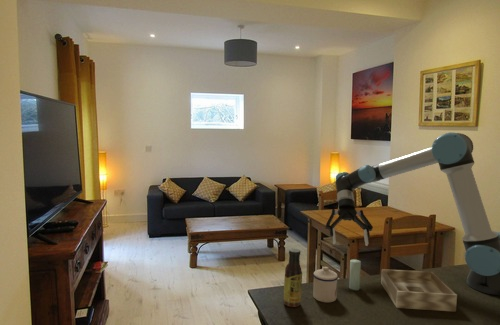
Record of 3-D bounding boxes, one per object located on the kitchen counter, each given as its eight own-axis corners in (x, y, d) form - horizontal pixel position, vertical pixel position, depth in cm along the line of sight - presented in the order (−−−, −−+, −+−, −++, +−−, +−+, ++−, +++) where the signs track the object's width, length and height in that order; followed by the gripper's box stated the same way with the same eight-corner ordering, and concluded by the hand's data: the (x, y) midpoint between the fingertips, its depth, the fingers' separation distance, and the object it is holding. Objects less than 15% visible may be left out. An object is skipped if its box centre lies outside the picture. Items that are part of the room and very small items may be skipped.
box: (431, 286, 140) (432, 271, 139) (455, 311, 120) (457, 295, 119) (381, 283, 142) (381, 269, 141) (396, 307, 122) (397, 291, 121)
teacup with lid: (340, 302, 125) (342, 272, 124) (316, 303, 124) (317, 272, 123) (329, 287, 137) (330, 259, 136) (307, 288, 136) (308, 260, 135)
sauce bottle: (290, 310, 119) (292, 254, 117) (279, 302, 124) (281, 249, 123) (304, 305, 123) (306, 251, 121) (293, 298, 128) (295, 246, 126)
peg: (358, 286, 139) (359, 259, 138) (360, 290, 135) (361, 263, 134) (348, 285, 139) (349, 259, 138) (350, 289, 135) (351, 263, 134)
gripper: (371, 207, 161) (378, 249, 148) (318, 205, 164) (320, 246, 150) (375, 198, 155) (382, 241, 142) (319, 196, 158) (321, 238, 144)
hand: (350, 243), depth 146 cm, fingers open, 13 cm apart
